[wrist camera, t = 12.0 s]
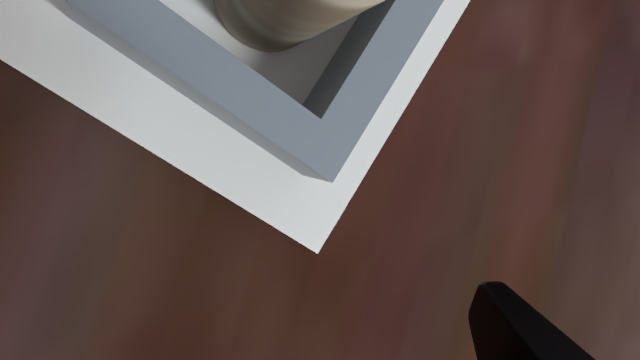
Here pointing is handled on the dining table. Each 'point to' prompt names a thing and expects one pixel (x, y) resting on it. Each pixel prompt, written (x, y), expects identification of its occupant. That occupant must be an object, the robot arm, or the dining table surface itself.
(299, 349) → the dining table surface
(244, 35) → the peg
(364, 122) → the socket block
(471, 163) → the dining table surface
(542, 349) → the robot arm
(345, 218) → the dining table surface
